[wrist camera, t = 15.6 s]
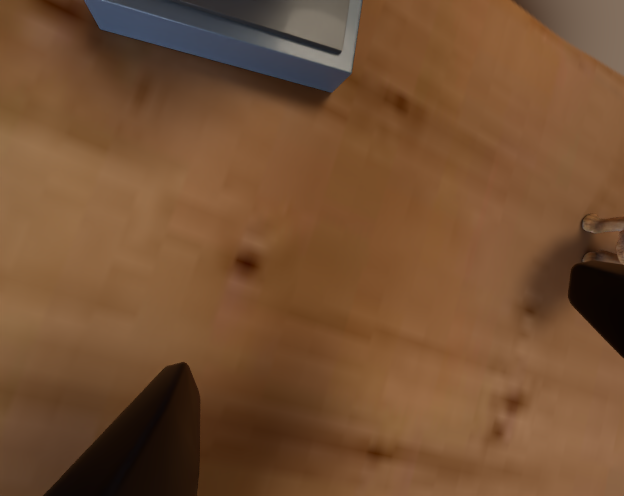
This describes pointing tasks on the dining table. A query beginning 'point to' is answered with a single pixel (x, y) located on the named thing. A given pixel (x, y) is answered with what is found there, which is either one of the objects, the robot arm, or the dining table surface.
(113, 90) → the dining table surface
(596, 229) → the lion figurine
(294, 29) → the riser
